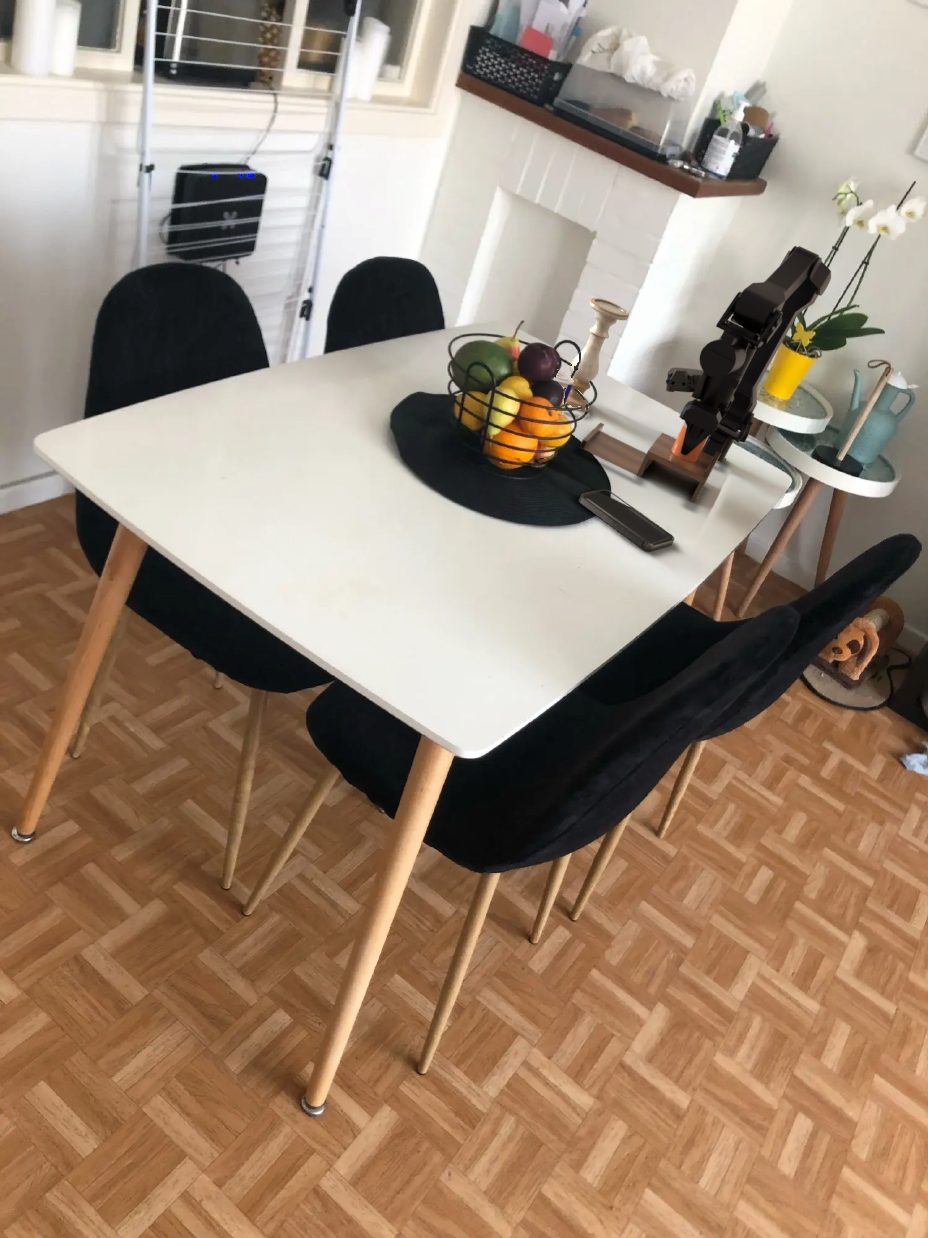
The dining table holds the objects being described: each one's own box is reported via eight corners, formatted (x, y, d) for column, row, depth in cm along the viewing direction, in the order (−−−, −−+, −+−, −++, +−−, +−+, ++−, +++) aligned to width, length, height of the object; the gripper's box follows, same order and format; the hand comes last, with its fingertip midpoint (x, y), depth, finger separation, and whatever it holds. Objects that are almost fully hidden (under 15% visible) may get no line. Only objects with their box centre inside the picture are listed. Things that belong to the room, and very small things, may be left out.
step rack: (594, 435, 186) (610, 400, 182) (703, 487, 182) (721, 453, 179) (576, 452, 176) (592, 416, 172) (691, 509, 172) (710, 472, 169)
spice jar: (673, 444, 178) (688, 414, 175) (699, 457, 177) (714, 426, 174) (668, 452, 174) (683, 421, 170) (694, 465, 173) (710, 434, 170)
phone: (650, 546, 152) (578, 493, 159) (647, 552, 152) (576, 499, 159) (677, 538, 157) (607, 488, 164) (674, 544, 158) (604, 494, 165)
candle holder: (541, 402, 191) (582, 300, 180) (554, 391, 198) (594, 292, 187) (583, 421, 190) (626, 320, 179) (594, 410, 197) (637, 312, 186)
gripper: (693, 336, 175) (655, 416, 184) (672, 357, 160) (632, 443, 168) (752, 363, 174) (711, 443, 182) (736, 387, 158) (693, 473, 166)
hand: (686, 449), depth 175 cm, fingers open, 5 cm apart
